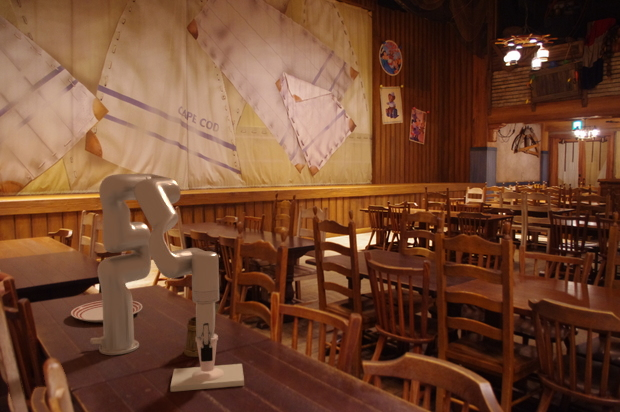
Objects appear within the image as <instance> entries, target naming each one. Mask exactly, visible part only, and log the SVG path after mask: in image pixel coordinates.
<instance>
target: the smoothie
mask: <svg viewBox="0 0 620 412" xmlns="http://www.w3.org/2000/svg"><path fill="white" fill-rule="evenodd" d="M208 329H209V324H208ZM203 336H204V335H203ZM208 336H210V334H208ZM211 337H212V336H211ZM208 340H209V341H210V339H208ZM195 341H196V342H197V347H198V353H199V357H198V359H199V367H201V371H204V372H208V371H212V370H213V369H214V366H215V361H216V352H217V343H218V341H219V335H218V333H214V336H213V337H212V338H211V347H212V350H213V360H212V361H205V362H202V361H201V347H202V344H201V337H199V338H197V337H196V340H195ZM203 341H204V339H203ZM209 345H210V344H209Z"/></svg>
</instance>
